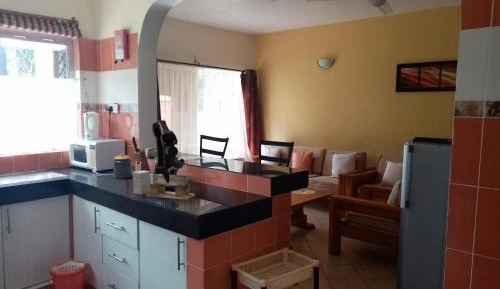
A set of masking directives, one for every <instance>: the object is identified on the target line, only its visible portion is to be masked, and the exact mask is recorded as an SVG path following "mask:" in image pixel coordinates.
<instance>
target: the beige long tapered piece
mask: <svg viewBox="0 0 500 289" xmlns="http://www.w3.org/2000/svg"><path fill="white" fill-rule="evenodd" d="M174 186H175V189H174V190H175V191H166V188H165V185H161V184H153V183H151V184H150V190H151V193H146V194H144V196H145V197H149V198H159V199H160V198H161V199H162V198H164V199H172V200H176V199H177V200H188V199H190V198H192V197H195V196H196V193H192V192H190V191H191V190H190V182H187V185H185V186H183V185H174Z"/></svg>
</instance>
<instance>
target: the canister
mask: <svg viewBox="0 0 500 289" xmlns="http://www.w3.org/2000/svg"><path fill="white" fill-rule="evenodd" d="M112 163H113V178H114V179H119V180H120V179H129V178H133V165H132V159H131V157H130V156H129V155H125V154H124V153H123V152H122V153H120V154H119V155H116V156H115V157H114V158H113V161H112Z"/></svg>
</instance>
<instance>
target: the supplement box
mask: <svg viewBox="0 0 500 289" xmlns="http://www.w3.org/2000/svg"><path fill="white" fill-rule="evenodd" d="M151 176H152V175H151V171H149V170H137V171H132V180H133V194H136V195H146V194H148V193H151V190H150V184H152V177H151Z"/></svg>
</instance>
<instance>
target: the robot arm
mask: <svg viewBox="0 0 500 289" xmlns="http://www.w3.org/2000/svg"><path fill="white" fill-rule="evenodd" d="M151 132H152V135H153V137H154V138H155V143H156V144H155V145H156V147H155V148H156V163H155V165H154V169H153V174H152V176H153V175H155V174H162V175H163V177H164V179H165V180H166V182H167V183H169V176H170V175H176V173H177V172H178V171H179V170H180V169H183V167H184V166H185V164H186V162H185V159H184V158H180V159H177V155H178V154H179V149H178V147H177V145H178V142H179V141H178V138H177V136H176V134H175V133H174V131H173V130H170V128H169V127H168V125H167V121H166V119H165V120H164V119H162V120H161V119H159V120H156V121H155V122H154V123H152V125H151ZM169 186H170V185H165V189H167V188H169Z"/></svg>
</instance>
